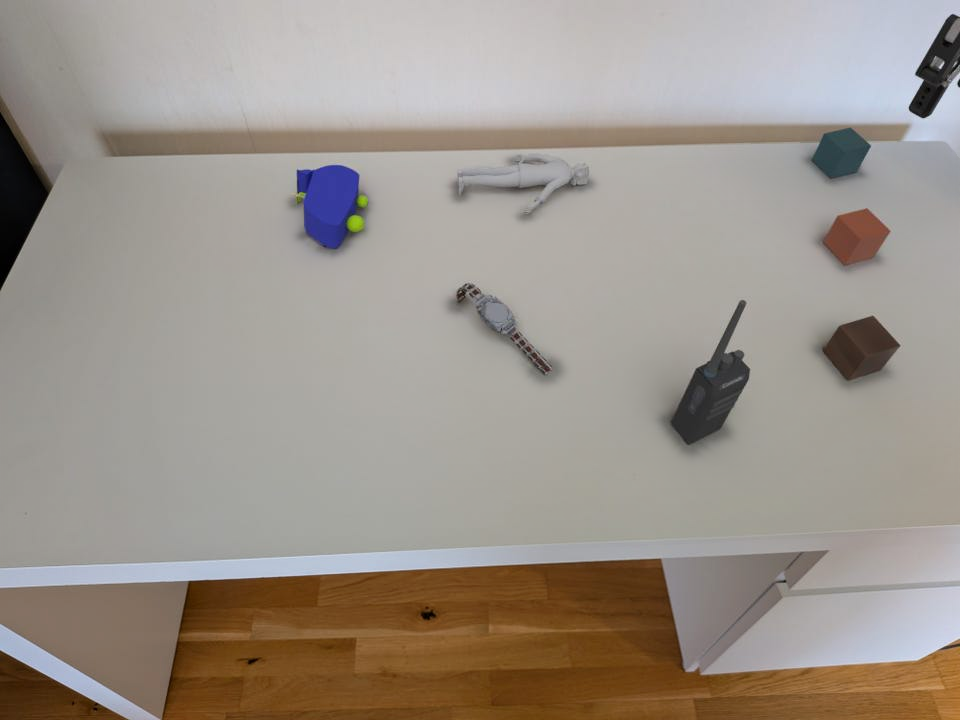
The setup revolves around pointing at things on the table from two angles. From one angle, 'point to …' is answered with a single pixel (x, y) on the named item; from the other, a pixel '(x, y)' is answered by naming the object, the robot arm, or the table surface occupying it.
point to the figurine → (526, 175)
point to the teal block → (840, 152)
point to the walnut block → (860, 347)
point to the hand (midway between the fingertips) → (942, 101)
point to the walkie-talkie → (713, 389)
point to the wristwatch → (501, 322)
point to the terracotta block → (856, 236)
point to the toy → (330, 203)
